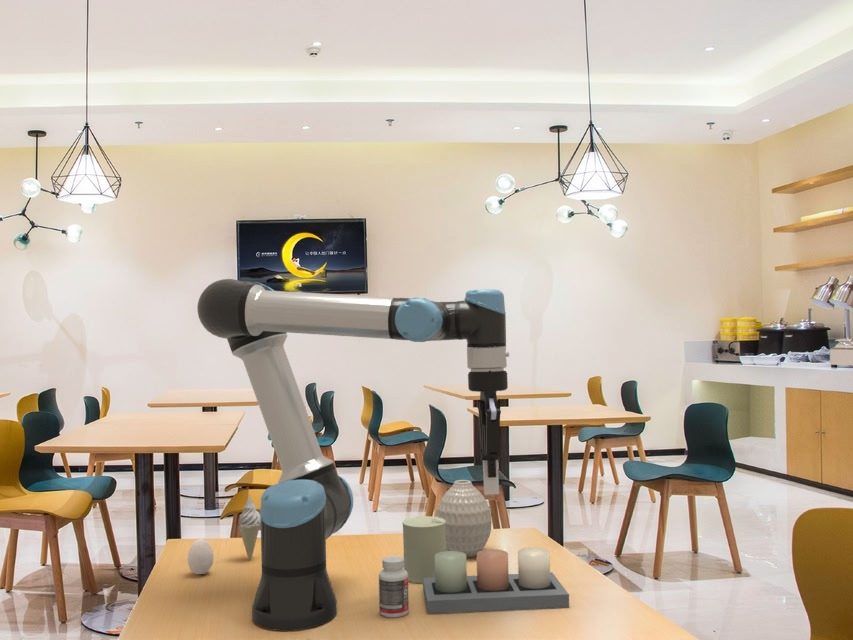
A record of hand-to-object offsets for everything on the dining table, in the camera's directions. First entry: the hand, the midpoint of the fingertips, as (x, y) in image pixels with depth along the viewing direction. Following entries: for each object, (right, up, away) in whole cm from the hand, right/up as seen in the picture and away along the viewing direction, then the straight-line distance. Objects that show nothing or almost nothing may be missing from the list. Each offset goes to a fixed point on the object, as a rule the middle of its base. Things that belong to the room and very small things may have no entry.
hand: (491, 493), depth 143 cm
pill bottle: (-18, -20, -7) cm, 28 cm away
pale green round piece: (-8, -18, -1) cm, 19 cm away
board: (0, -20, 0) cm, 20 cm away
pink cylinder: (0, -17, 0) cm, 17 cm away
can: (-13, -21, +14) cm, 28 cm away
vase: (-4, -21, +29) cm, 36 cm away
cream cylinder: (+8, -17, 0) cm, 19 cm away
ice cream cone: (-53, -22, +28) cm, 64 cm away
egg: (-61, -22, +18) cm, 67 cm away
